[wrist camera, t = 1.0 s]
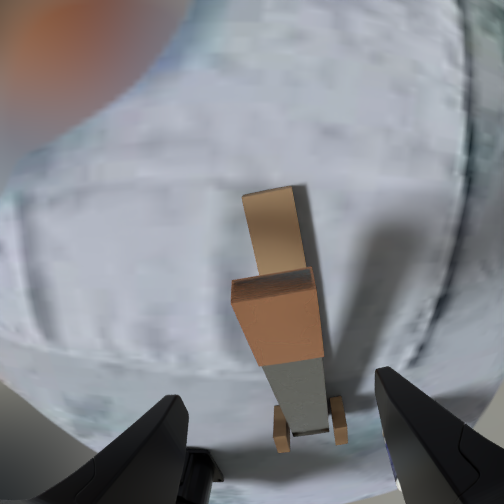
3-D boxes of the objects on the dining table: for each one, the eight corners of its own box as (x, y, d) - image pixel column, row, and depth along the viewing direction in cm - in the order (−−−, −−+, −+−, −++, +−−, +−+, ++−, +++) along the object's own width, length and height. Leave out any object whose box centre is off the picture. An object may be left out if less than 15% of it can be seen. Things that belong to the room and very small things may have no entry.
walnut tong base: (342, 413, 26) (347, 443, 22) (278, 422, 26) (277, 453, 23) (313, 181, 19) (321, 190, 16) (221, 199, 20) (210, 211, 17)
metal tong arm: (328, 419, 25) (330, 433, 23) (292, 424, 25) (292, 438, 24) (311, 264, 13) (316, 290, 12) (231, 278, 13) (230, 305, 12)
